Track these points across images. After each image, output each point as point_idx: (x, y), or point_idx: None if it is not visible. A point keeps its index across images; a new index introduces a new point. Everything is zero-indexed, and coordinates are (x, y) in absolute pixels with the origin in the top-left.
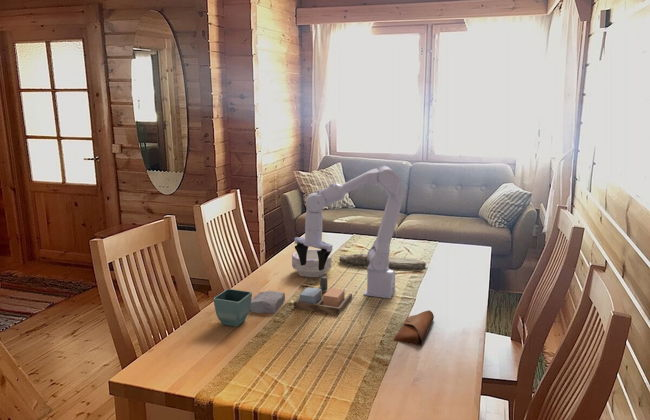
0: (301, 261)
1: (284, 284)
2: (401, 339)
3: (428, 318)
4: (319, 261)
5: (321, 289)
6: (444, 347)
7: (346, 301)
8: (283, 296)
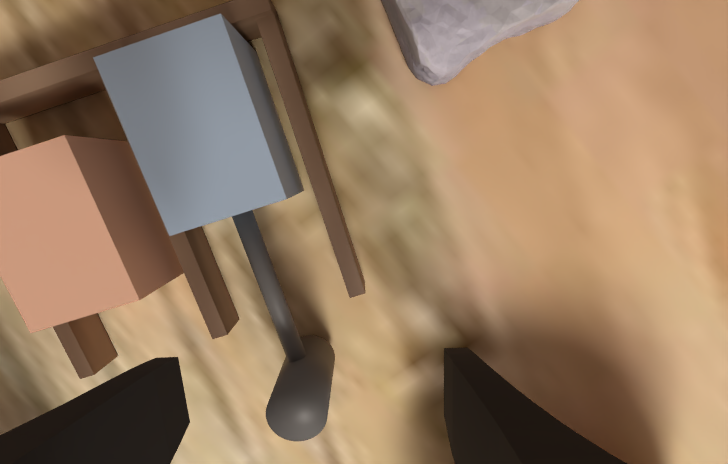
0: (466, 373)
1: (593, 297)
2: None
3: None
4: (32, 438)
5: (168, 231)
6: None
7: None
8: (403, 29)
